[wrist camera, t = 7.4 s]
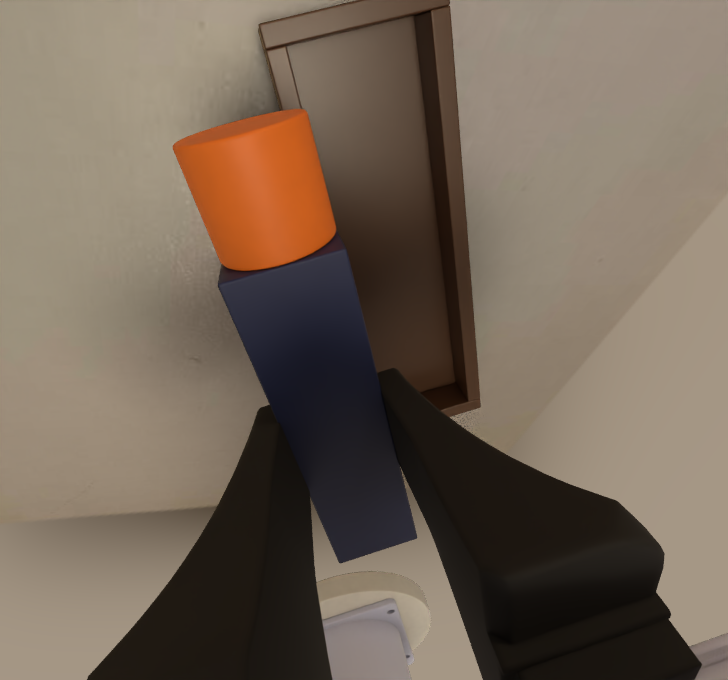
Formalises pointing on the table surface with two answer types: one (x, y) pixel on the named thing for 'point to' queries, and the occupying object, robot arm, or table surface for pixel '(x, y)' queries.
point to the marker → (301, 319)
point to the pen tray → (391, 176)
